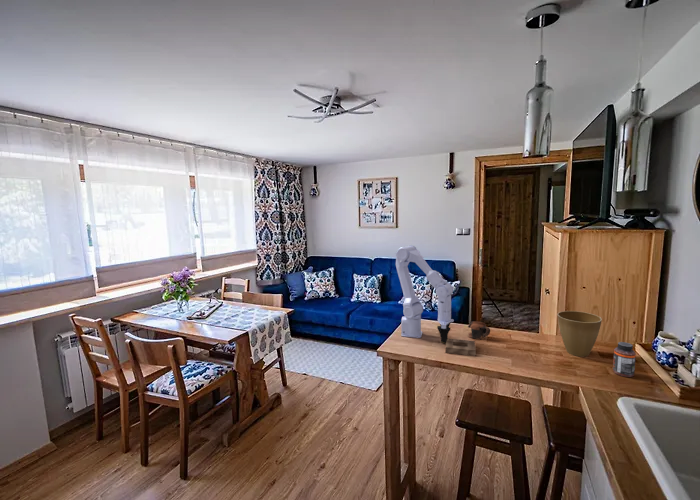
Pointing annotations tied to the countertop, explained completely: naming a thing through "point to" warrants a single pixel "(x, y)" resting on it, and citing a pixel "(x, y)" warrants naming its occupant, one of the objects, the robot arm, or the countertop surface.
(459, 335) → the countertop surface
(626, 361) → the supplement bottle
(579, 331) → the plant pot
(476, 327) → the pottery mug
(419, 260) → the robot arm
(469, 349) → the slot block
